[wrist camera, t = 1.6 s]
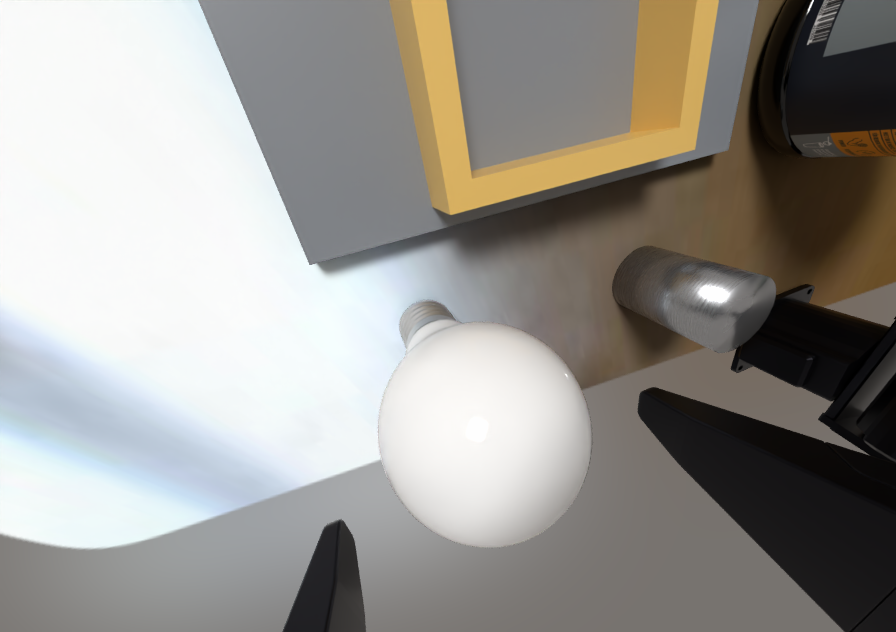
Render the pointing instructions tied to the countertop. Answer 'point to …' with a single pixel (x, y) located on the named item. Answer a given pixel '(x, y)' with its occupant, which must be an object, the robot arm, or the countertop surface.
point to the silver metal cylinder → (695, 296)
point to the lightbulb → (482, 429)
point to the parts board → (472, 102)
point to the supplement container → (830, 79)
